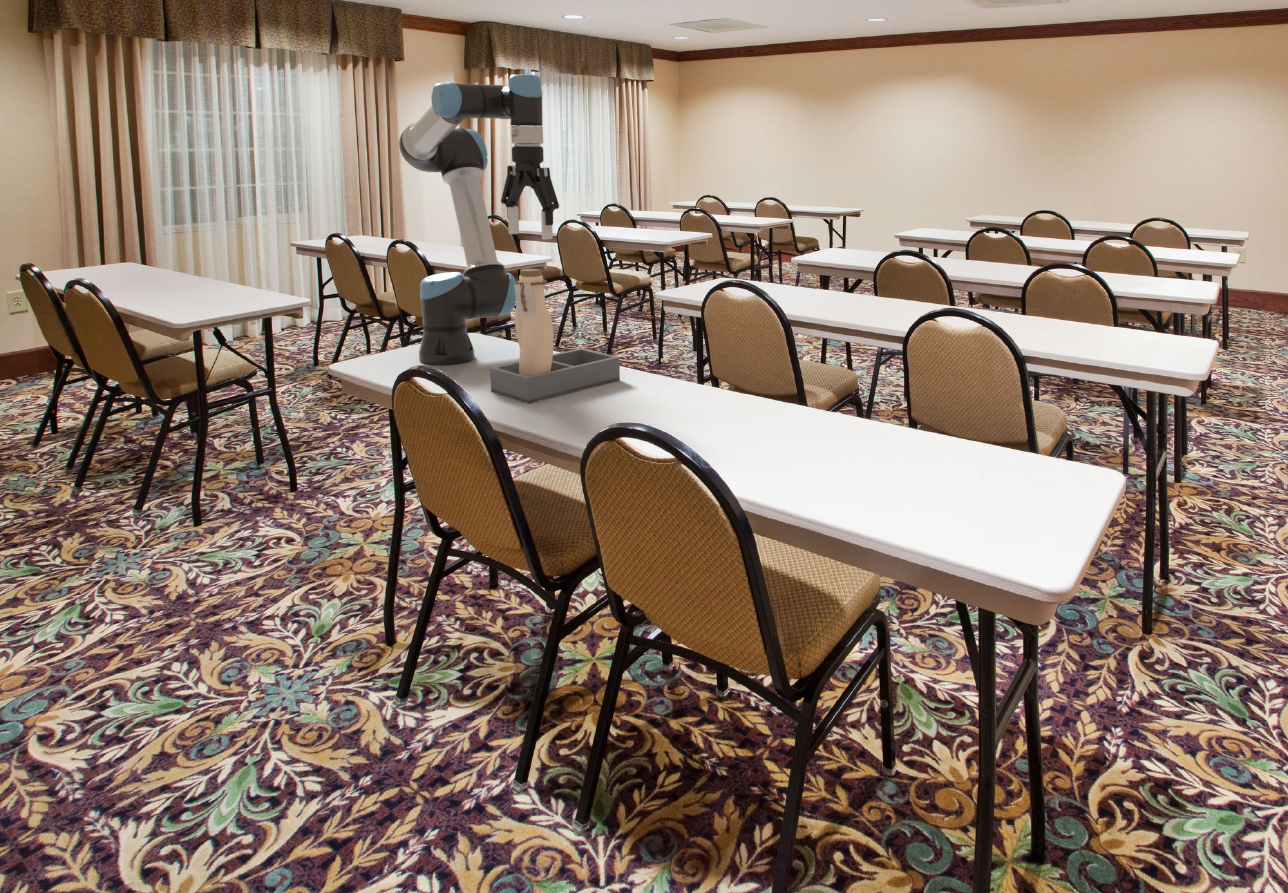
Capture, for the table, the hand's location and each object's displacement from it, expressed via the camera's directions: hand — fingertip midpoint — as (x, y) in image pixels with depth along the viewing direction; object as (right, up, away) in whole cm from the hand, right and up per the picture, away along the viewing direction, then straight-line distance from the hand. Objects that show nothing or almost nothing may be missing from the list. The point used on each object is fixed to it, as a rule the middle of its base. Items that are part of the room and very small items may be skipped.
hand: (530, 236), depth 209 cm
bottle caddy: (+6, -37, +2) cm, 37 cm away
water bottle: (+2, -38, -4) cm, 38 cm away
